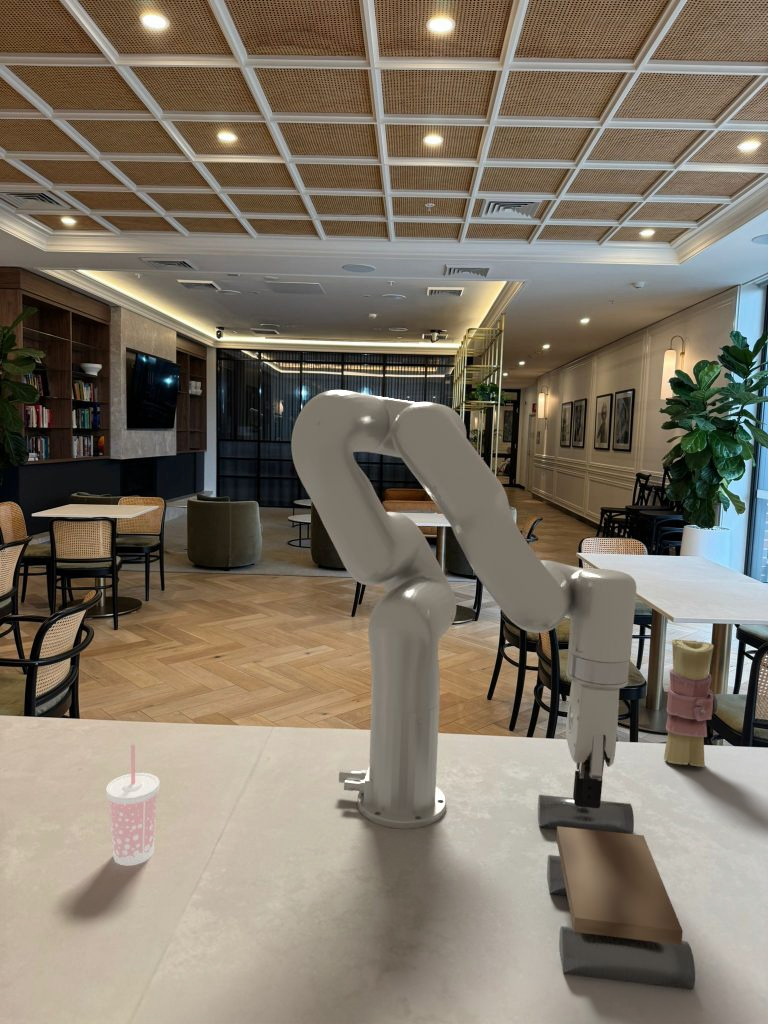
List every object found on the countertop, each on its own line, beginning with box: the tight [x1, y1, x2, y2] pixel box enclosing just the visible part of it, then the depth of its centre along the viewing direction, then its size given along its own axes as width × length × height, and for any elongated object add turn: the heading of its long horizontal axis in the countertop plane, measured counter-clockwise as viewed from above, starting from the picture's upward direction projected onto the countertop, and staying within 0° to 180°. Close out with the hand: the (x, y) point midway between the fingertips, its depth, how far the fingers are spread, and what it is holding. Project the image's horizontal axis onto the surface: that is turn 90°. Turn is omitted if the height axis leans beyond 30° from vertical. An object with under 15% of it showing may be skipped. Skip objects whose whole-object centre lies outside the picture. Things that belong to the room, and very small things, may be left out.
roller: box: [558, 925, 696, 990], centre depth 68 cm, size 12×4×4 cm, turn 82°
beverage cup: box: [105, 744, 161, 867], centre depth 84 cm, size 6×6×14 cm
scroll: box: [663, 639, 718, 768], centre depth 112 cm, size 8×8×20 cm
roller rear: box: [537, 794, 635, 834], centre depth 93 cm, size 12×4×4 cm, turn 82°
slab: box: [555, 826, 684, 945], centre depth 74 cm, size 10×16×2 cm, turn 172°
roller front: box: [546, 854, 567, 896], centre depth 79 cm, size 12×4×4 cm, turn 82°
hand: (586, 803), depth 89 cm, fingers closed
